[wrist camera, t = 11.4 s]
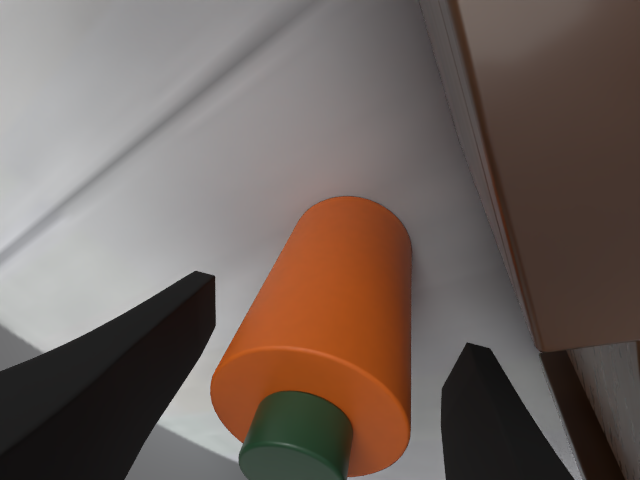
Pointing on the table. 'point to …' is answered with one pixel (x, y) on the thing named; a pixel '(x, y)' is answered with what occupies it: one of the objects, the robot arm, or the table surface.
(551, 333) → the cabinet
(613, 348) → the drawer
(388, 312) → the bottle
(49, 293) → the table surface
